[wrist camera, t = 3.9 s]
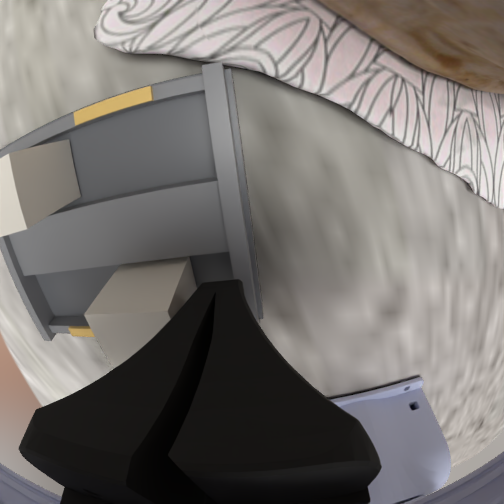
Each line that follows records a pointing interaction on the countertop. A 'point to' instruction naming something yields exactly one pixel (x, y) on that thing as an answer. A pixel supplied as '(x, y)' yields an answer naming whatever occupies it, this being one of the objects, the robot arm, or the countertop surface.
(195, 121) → the tray
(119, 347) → the tab
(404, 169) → the countertop surface
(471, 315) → the countertop surface
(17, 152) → the tab
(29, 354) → the countertop surface
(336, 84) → the cookie jar
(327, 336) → the countertop surface
